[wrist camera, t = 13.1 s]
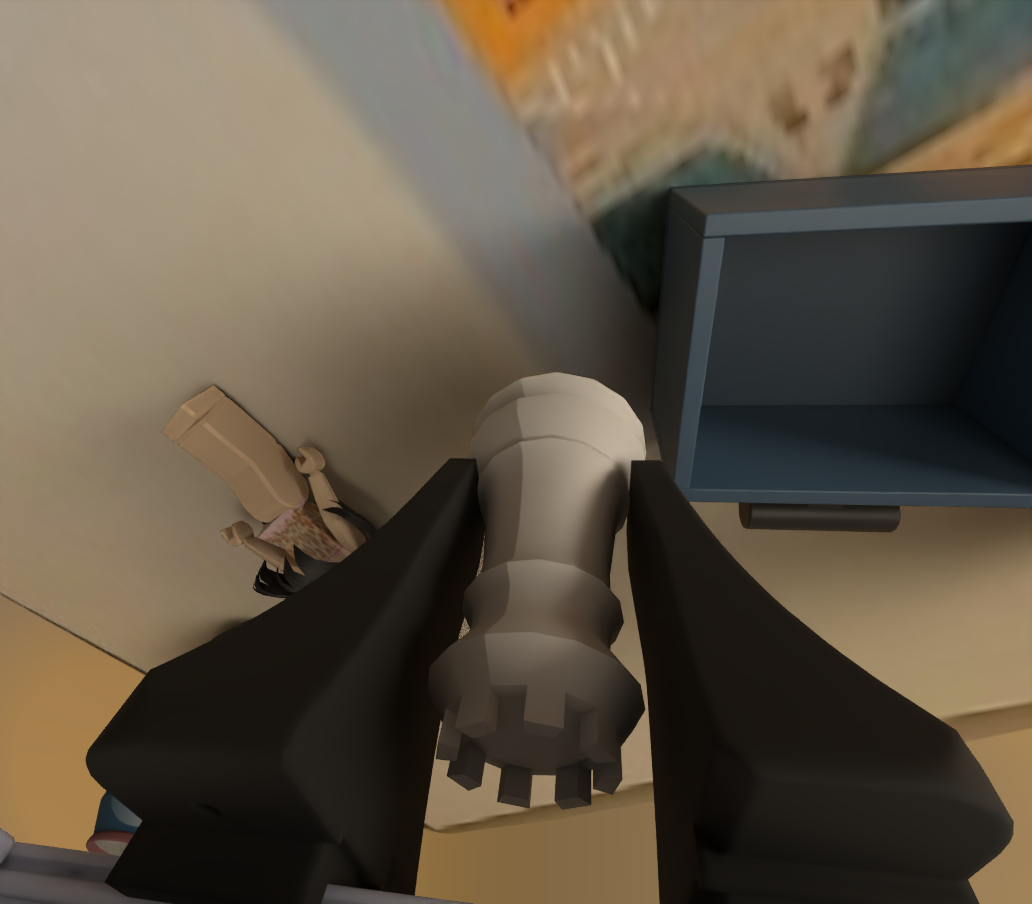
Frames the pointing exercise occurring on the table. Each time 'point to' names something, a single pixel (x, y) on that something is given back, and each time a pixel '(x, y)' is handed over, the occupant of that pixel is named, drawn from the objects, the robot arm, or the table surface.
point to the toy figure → (270, 493)
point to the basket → (848, 346)
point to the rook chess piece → (544, 596)
